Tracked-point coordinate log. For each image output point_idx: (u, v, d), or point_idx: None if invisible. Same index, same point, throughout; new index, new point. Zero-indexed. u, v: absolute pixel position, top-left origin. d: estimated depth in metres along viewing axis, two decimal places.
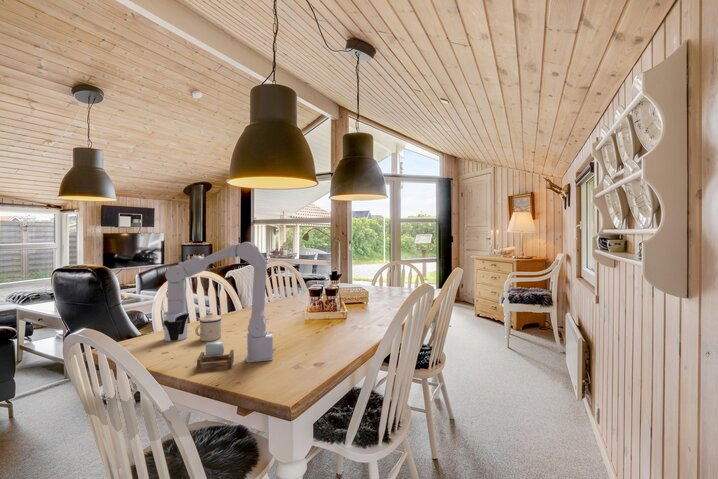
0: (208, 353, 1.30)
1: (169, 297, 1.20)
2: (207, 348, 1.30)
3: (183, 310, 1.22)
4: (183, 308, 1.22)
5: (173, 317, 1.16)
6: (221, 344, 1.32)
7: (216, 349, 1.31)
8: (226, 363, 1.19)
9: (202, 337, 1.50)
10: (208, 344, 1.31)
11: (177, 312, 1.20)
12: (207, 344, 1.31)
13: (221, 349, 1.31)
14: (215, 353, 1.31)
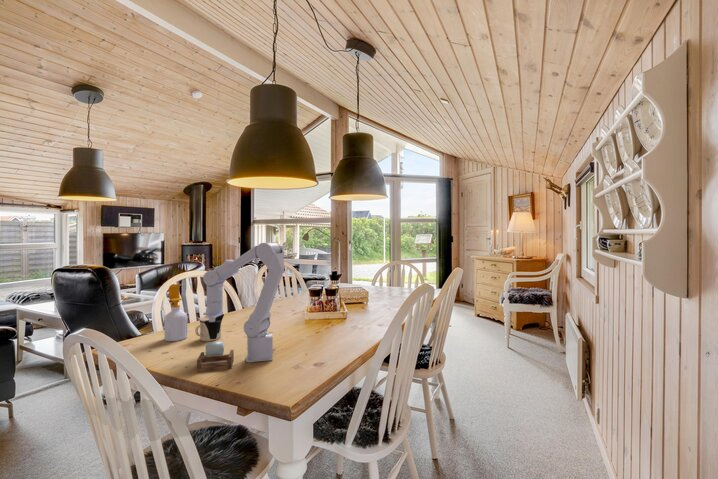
0: (208, 353, 1.30)
1: (207, 299, 1.31)
2: (207, 348, 1.30)
3: (221, 311, 1.32)
4: (221, 309, 1.32)
5: (213, 317, 1.26)
6: (221, 344, 1.32)
7: (216, 349, 1.31)
8: (226, 363, 1.19)
9: (202, 337, 1.50)
10: (208, 344, 1.31)
11: (216, 313, 1.30)
12: (207, 344, 1.31)
13: (221, 349, 1.31)
14: (215, 353, 1.31)
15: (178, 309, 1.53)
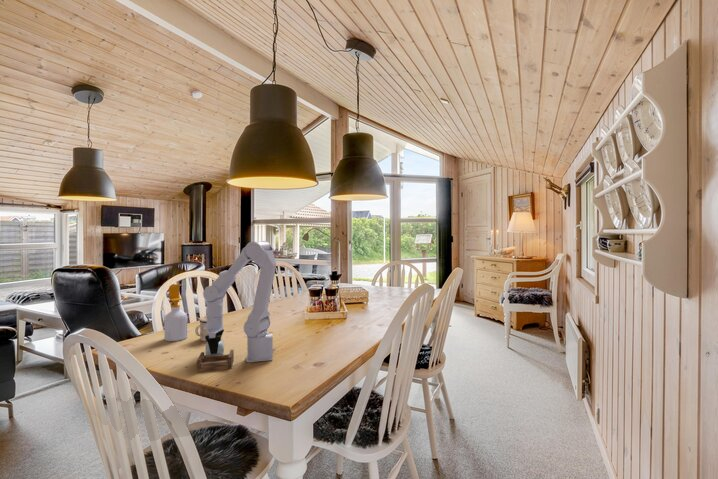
0: (208, 353, 1.30)
1: (207, 314, 1.31)
2: (207, 348, 1.30)
3: (221, 326, 1.32)
4: (221, 324, 1.32)
5: (213, 333, 1.26)
6: (221, 344, 1.32)
7: None
8: (226, 363, 1.19)
9: (202, 337, 1.50)
10: None
11: (216, 328, 1.30)
12: (207, 344, 1.31)
13: (221, 349, 1.31)
14: None
15: (178, 309, 1.53)
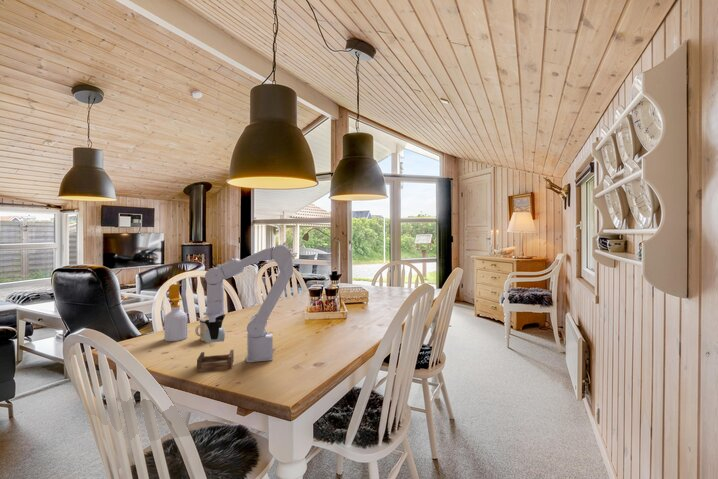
0: (208, 340, 1.24)
1: (208, 298, 1.24)
2: (207, 334, 1.24)
3: (221, 311, 1.26)
4: (221, 309, 1.26)
5: (213, 317, 1.20)
6: (221, 330, 1.26)
7: None
8: (226, 363, 1.19)
9: (202, 337, 1.50)
10: (208, 330, 1.25)
11: (216, 312, 1.24)
12: (207, 330, 1.25)
13: (221, 336, 1.25)
14: (215, 340, 1.25)
15: (178, 309, 1.53)
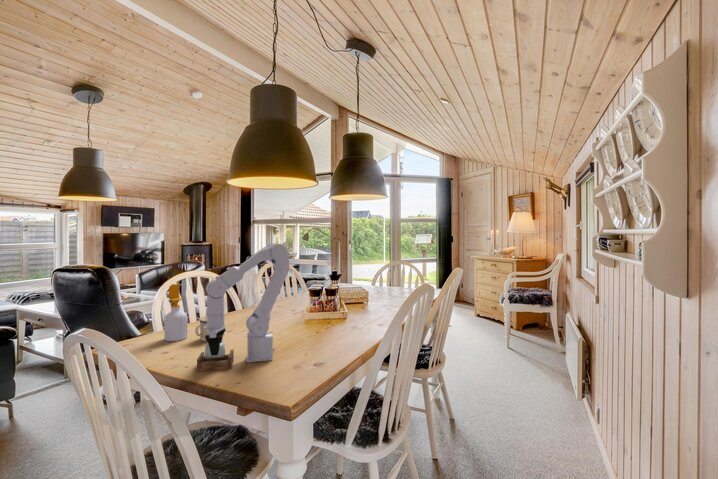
0: (208, 356, 1.19)
1: (211, 312, 1.19)
2: (207, 350, 1.19)
3: (222, 325, 1.21)
4: (222, 323, 1.21)
5: (214, 333, 1.15)
6: (222, 346, 1.21)
7: None
8: (226, 363, 1.19)
9: (202, 337, 1.50)
10: (208, 346, 1.20)
11: (217, 327, 1.19)
12: (207, 346, 1.20)
13: (222, 352, 1.20)
14: (215, 356, 1.20)
15: (178, 309, 1.53)
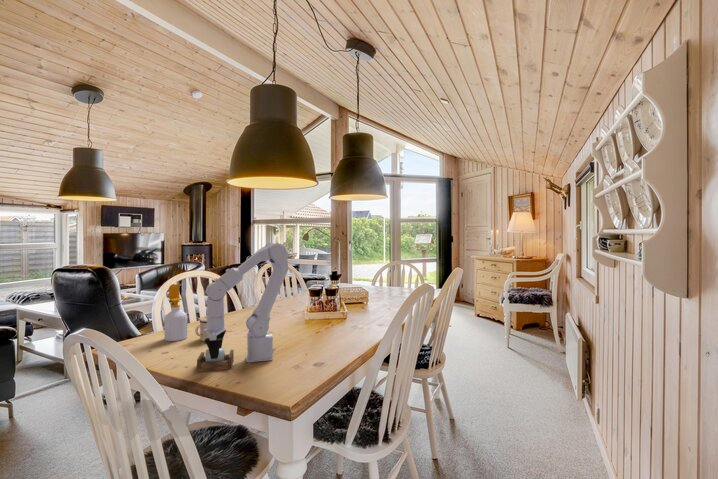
0: (209, 361, 1.19)
1: (211, 315, 1.19)
2: (207, 356, 1.19)
3: (222, 327, 1.21)
4: (222, 325, 1.21)
5: (214, 335, 1.15)
6: (222, 351, 1.21)
7: None
8: (226, 363, 1.19)
9: (202, 337, 1.50)
10: (208, 351, 1.20)
11: (217, 330, 1.19)
12: (207, 351, 1.20)
13: (222, 357, 1.20)
14: (216, 361, 1.20)
15: (178, 309, 1.53)
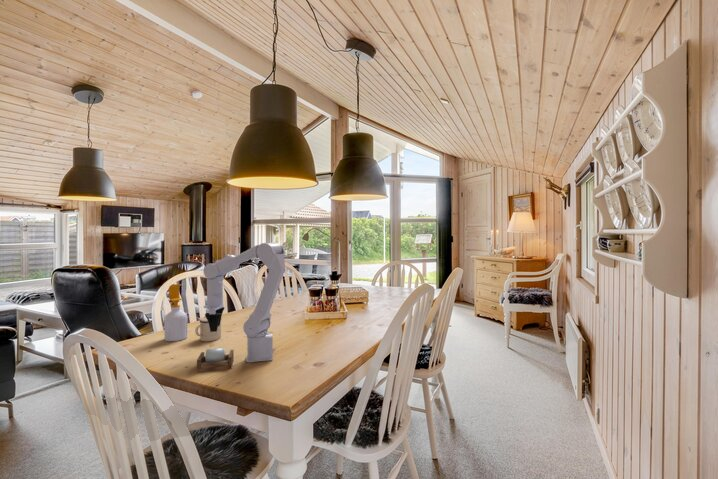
0: (209, 360, 1.20)
1: (207, 291, 1.32)
2: (207, 354, 1.20)
3: (221, 304, 1.33)
4: (221, 302, 1.33)
5: (214, 310, 1.27)
6: (222, 350, 1.22)
7: (217, 356, 1.20)
8: (226, 363, 1.19)
9: (202, 337, 1.50)
10: (208, 350, 1.21)
11: (216, 306, 1.31)
12: (207, 350, 1.21)
13: (222, 356, 1.21)
14: (216, 360, 1.20)
15: (178, 309, 1.53)
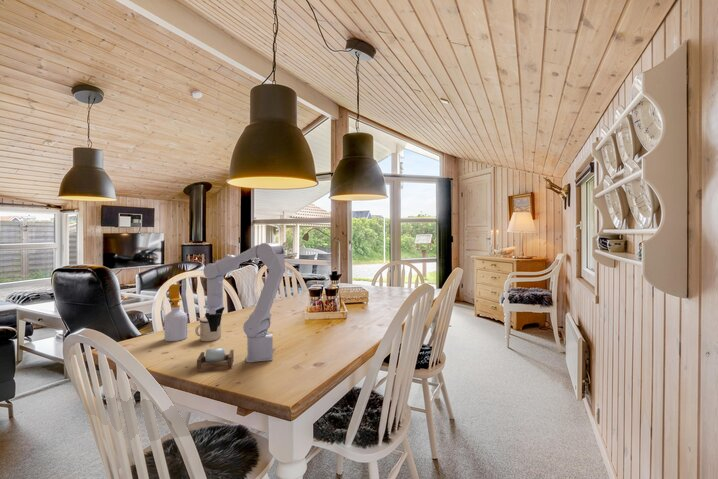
0: (209, 360, 1.20)
1: (207, 291, 1.32)
2: (208, 354, 1.20)
3: (221, 304, 1.33)
4: (221, 302, 1.33)
5: (214, 310, 1.27)
6: (222, 350, 1.22)
7: (217, 356, 1.20)
8: (226, 363, 1.19)
9: (202, 337, 1.50)
10: (208, 350, 1.21)
11: (216, 306, 1.31)
12: (207, 350, 1.21)
13: (222, 356, 1.21)
14: (216, 360, 1.20)
15: (178, 309, 1.53)
